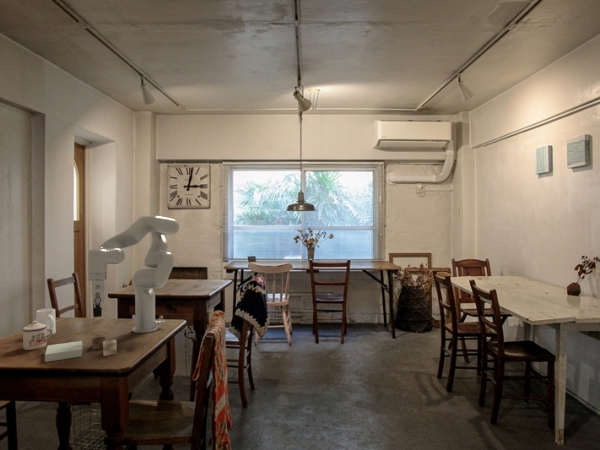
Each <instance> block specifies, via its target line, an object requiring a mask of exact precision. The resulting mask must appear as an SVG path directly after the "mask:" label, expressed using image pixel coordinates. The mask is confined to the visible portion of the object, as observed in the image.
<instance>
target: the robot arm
mask: <svg viewBox="0 0 600 450" xmlns="http://www.w3.org/2000/svg"><path fill="white" fill-rule="evenodd" d="M179 230H180V224H179V222H178V221H177V220H176V219H174V218H171V217H170V218H169V217H166V216H165V217H164V216H159V215H144V216H140V217H139V218H138V219H137V220H135V221H134V222H133V223H132V224H131V225H130V226H129V227H128V228H127V229H125V230H124V231H123V232H120V233H118V234H117V235H114V236H113V237H110V238H109V239H107V240H105V241H104V242H103V243H102V244H100V245H99V246H98V248H95V249H90V250H88V253H87V281H88V282H89V281H90V294H91V301H92V303H93V304H92V314H93V315H92V316H93V318H99V317H102V312H103V311H102V310H103V307H102V303H105V293H106V291H105V281H106V280H108V278H107V277H108V276H107V275H108V274H107V273H108V272H107V271H108V265H118V264H120V263H123V262H124V261H125V258H126V253H125V251H124V250H123V249H125V248H129V247H132V246H135V245H137V244H139V243H140V242H141V241H142V239H144V237H146V235H148V234H149V233H150V234H151V238H152V240H151V241H152V242H151V244H150V247H149V249H148V251H147V253H146V256H145V257H144V261H143V263H144V266H145V267H146V268H140V269H138V270H136V271H135V272H134V273H133V276H132V283H133V288H134V298H135V299H134V302H135V304H134V305H135V310H134V311H135V326H134V327H133V328H131V330H132V332H133V333H136V334H146V333H151V332H155V331H157V330H158V329H159V326H160V325H166V323H165V320H157V319H156V295H155V294H156V293H155V291H154V289H162V288H163V287H164V286H165V285H166V283H167V282H168V279H169V278H170V274H171V273H172V270H173V268H174V266H175V256H174V255H173V253H172V252H169V251H167V250H168V247H169V242H168V239H167V237H166V235H168V236H173V235H174V236H175V235H176V234H177V233H179V232H178V231H179Z"/></svg>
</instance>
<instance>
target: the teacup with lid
mask: <svg viewBox="0 0 600 450" xmlns="http://www.w3.org/2000/svg"><path fill="white" fill-rule="evenodd" d="M48 329H49V330H50V334H49V335H48V336H46V330H48ZM52 333H53V330H52V329H51V328H47V326H46V325H45V324H40V323H37V321H36V320H33V321H31V323H30V324H28V325H26V326H24V327H23V328H22V339H23V340H22V345H23V347H22V348H23V349H24V350H25V351H28V350H29V351H31V350H37V349H42V348H44V347H46V346H47V340H49V338H51V336H53V334H52Z"/></svg>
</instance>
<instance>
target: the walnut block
mask: <svg viewBox="0 0 600 450" xmlns="http://www.w3.org/2000/svg"><path fill="white" fill-rule="evenodd" d="M91 341H92V342H91V343H92V346H91V347H92V350H97V349H103V341H106V335H105V333H99V334H92V336H91Z"/></svg>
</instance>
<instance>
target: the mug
mask: <svg viewBox="0 0 600 450" xmlns="http://www.w3.org/2000/svg"><path fill="white" fill-rule="evenodd" d="M35 313H36V314H35V315H36V318H35V321H37V323H40V324H45V325H46V326H47V328H51V329H52V330H53V333H52V335H55V334H56V330H57V329H56V327H57V326H56V309H55V308H50V307H49V308H42V309H38V310H36V312H35ZM49 334H50V330H49V329H48V330H46V337H48V336H49Z"/></svg>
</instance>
